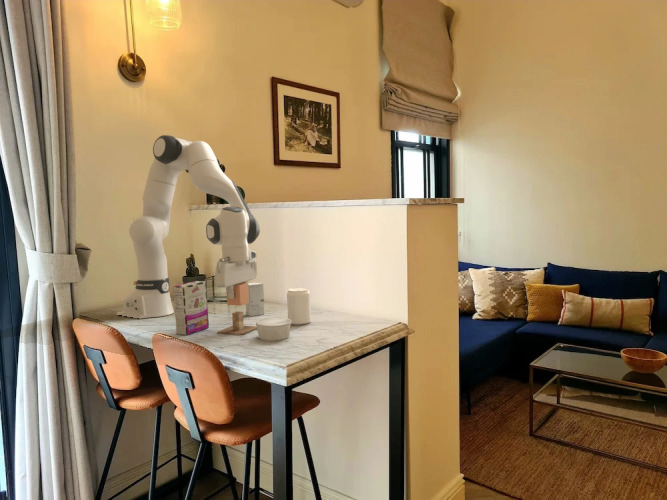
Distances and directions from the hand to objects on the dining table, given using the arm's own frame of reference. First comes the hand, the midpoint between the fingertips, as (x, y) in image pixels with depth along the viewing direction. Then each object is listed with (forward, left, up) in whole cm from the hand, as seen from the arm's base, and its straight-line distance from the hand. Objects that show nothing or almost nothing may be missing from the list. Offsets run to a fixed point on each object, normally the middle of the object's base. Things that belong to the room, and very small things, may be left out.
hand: (237, 296), depth 172 cm
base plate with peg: (0, 0, -12) cm, 12 cm away
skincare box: (-8, +24, -12) cm, 28 cm away
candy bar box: (-15, -5, -12) cm, 20 cm away
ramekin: (+16, -4, -12) cm, 20 cm away
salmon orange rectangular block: (0, 0, -2) cm, 2 cm away
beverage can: (+15, +16, -12) cm, 25 cm away
